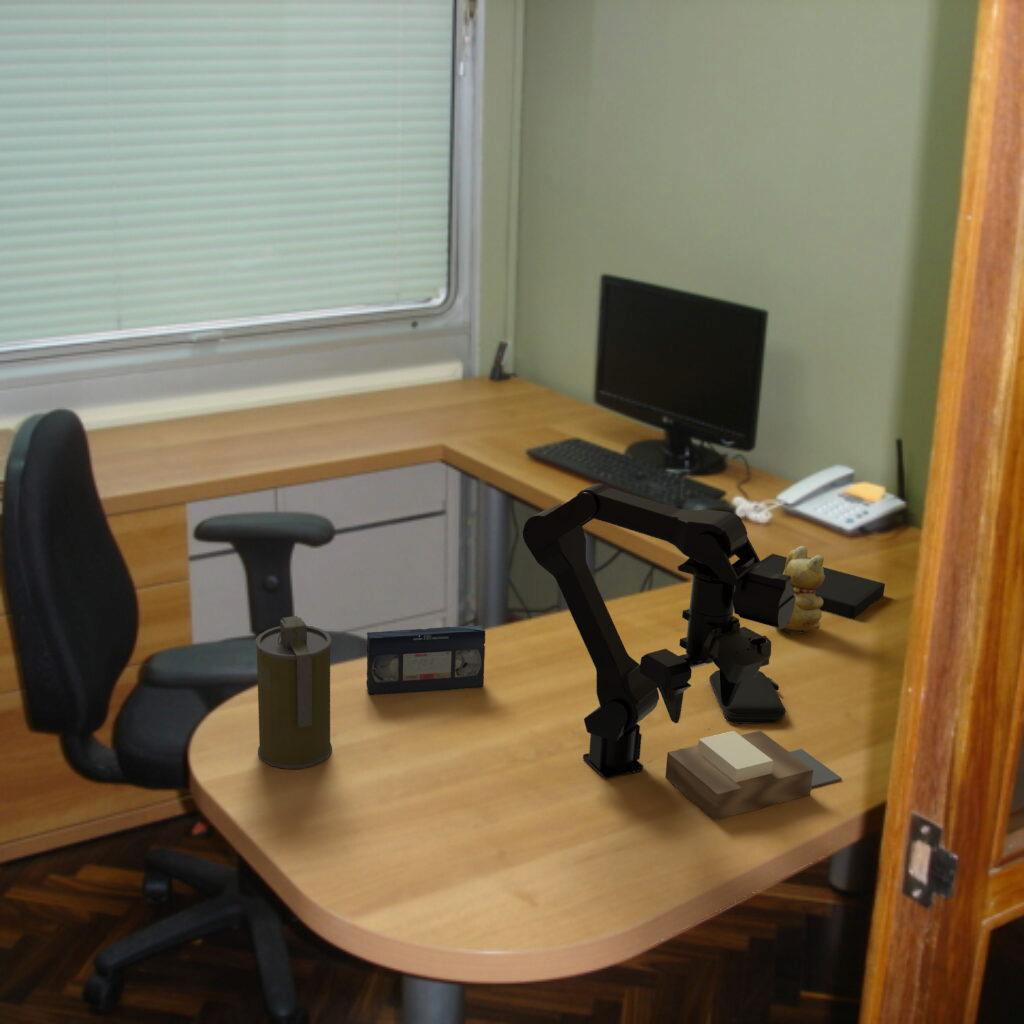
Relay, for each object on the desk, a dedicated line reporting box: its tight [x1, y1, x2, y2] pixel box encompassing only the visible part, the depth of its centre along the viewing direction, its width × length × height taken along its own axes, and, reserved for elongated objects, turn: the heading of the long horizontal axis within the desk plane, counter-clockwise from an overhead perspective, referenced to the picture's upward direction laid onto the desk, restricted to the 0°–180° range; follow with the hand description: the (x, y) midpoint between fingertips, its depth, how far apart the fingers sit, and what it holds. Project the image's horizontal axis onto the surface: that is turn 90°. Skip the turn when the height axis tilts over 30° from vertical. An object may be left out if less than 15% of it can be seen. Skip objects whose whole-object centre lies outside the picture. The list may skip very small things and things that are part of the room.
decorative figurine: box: [782, 545, 825, 635], centre depth 240 cm, size 10×8×15 cm
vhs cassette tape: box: [365, 624, 486, 696], centre depth 214 cm, size 18×3×10 cm, turn 102°
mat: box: [789, 748, 843, 789], centre depth 196 cm, size 7×9×1 cm
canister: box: [254, 615, 333, 770], centre depth 192 cm, size 11×10×20 cm
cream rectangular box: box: [697, 730, 773, 782], centre depth 189 cm, size 6×9×2 cm, turn 27°
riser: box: [665, 730, 813, 821], centre depth 191 cm, size 16×12×4 cm
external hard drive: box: [756, 553, 886, 620], centre depth 260 cm, size 14×23×3 cm, turn 54°
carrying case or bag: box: [709, 669, 786, 724], centre depth 215 cm, size 11×3×15 cm
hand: (700, 713), depth 185 cm, fingers open, 9 cm apart
